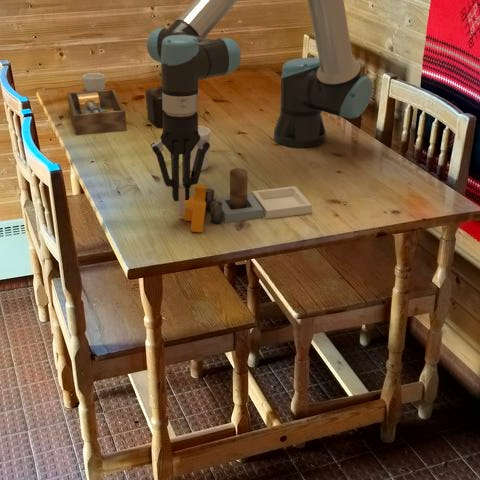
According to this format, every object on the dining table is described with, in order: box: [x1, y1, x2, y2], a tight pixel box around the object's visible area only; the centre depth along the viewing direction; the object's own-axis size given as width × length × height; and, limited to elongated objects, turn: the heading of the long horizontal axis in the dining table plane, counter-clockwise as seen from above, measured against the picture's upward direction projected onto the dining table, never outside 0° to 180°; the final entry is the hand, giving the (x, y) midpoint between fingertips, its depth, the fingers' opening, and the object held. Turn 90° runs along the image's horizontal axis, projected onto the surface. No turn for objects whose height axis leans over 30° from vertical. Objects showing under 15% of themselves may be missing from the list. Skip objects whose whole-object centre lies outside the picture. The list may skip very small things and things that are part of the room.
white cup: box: [190, 125, 211, 172], centre depth 191 cm, size 8×8×10 cm
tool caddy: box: [66, 88, 128, 136], centre depth 224 cm, size 15×23×6 cm, turn 17°
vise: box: [76, 92, 114, 114], centre depth 224 cm, size 18×10×7 cm, turn 22°
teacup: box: [82, 72, 106, 91], centre depth 252 cm, size 10×8×5 cm
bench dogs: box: [205, 188, 223, 225], centre depth 166 cm, size 3×10×5 cm, turn 16°
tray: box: [251, 185, 313, 220], centre depth 171 cm, size 11×11×3 cm
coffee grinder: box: [145, 72, 164, 129], centre depth 223 cm, size 16×11×18 cm
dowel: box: [229, 167, 249, 210], centre depth 166 cm, size 4×4×10 cm
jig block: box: [214, 193, 264, 224], centre depth 168 cm, size 9×9×2 cm
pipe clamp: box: [183, 184, 207, 233], centre depth 163 cm, size 12×4×6 cm, turn 2°
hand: (181, 213), depth 164 cm, fingers closed
